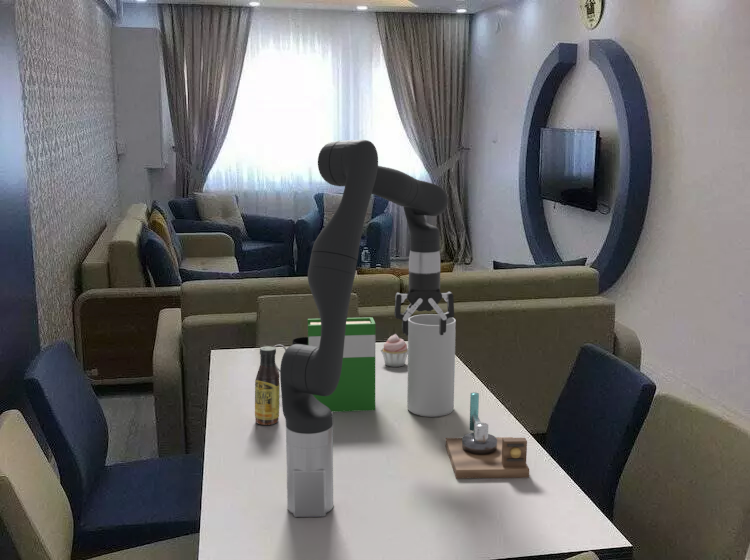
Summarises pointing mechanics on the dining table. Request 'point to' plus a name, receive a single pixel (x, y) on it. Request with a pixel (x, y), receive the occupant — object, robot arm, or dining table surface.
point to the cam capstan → (478, 432)
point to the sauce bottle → (267, 388)
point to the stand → (490, 459)
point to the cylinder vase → (430, 366)
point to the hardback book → (351, 366)
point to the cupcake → (395, 351)
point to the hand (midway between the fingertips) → (424, 334)
